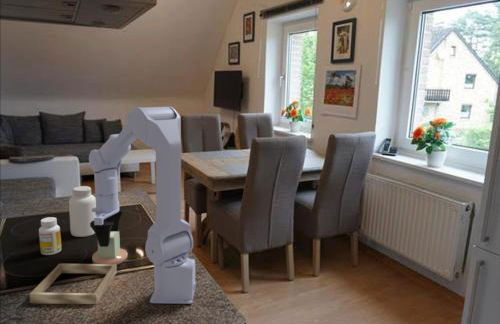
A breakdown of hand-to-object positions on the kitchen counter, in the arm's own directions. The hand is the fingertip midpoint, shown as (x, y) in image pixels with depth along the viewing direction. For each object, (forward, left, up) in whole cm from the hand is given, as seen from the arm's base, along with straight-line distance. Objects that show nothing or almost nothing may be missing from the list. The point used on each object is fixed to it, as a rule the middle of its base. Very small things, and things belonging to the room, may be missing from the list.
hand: (109, 240), depth 107 cm
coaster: (0, 0, -5) cm, 5 cm away
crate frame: (+3, +15, -6) cm, 16 cm away
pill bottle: (+14, -18, -6) cm, 23 cm away
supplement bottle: (+18, -4, -6) cm, 19 cm away
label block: (0, 0, -4) cm, 4 cm away
